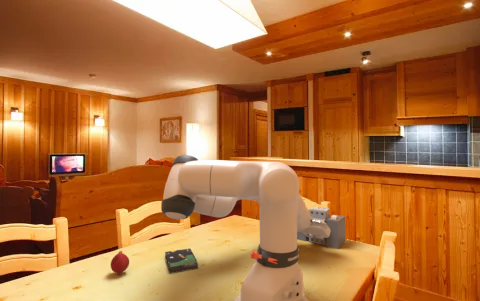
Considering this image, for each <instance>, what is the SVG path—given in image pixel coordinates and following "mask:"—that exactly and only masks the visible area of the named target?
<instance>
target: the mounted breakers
mask: <svg viewBox="0 0 480 301" xmlns="http://www.w3.org/2000/svg"><path fill="white" fill-rule="evenodd" d="M326 224H327V225H328V227H329V228H330V230H331V231H330V235H329V237H328V238H326V245H325V246H326V247H327V248H328V247H329V248H332V249H336V250H338V249H340V247H342V246H343V245H345V243H346V216H344V215H339V214H332V215H330V217H329V218H328V219H326ZM297 241H303V242H306V241H309V237H307V236H306V235H305V234H303V233H302V232H297Z"/></svg>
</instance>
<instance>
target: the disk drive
mask: <svg viewBox="0 0 480 301" xmlns="http://www.w3.org/2000/svg"><path fill="white" fill-rule="evenodd" d="M164 257H165V261H166V266H167V270H168V273H169V274H173V273H179V272H186V271H191V269H192V270H197V269H198V268H199V265H198V261H197V258H196V257H195V255H194V253H193V251H192V249H191V248H184V249H177V250H175V251H171V250H169V251H165V252H164Z"/></svg>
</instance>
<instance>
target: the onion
mask: <svg viewBox="0 0 480 301" xmlns="http://www.w3.org/2000/svg"><path fill="white" fill-rule="evenodd" d="M129 266H130V258H129V257H128V256H127V255H126V254H125V253H123V250H119V251H118V252H117V254H115V255H114V256H113V257H112V259H111V261H110V269H111V271H112V272H113V273H115V274H117V275H122V274H123V272H125V271H126V270H127V269H128V268H129Z"/></svg>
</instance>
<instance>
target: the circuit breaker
mask: <svg viewBox="0 0 480 301" xmlns="http://www.w3.org/2000/svg"><path fill="white" fill-rule="evenodd" d="M308 210H309V212H310V214H311V216H312V219H315V220H320V221H323V222H325V223H326V219H328V218H329V217H331V212H330V207H322V206H321V207H320V206H312V207H310V208H308ZM308 242H309V243H314V244H319V245H324V246H326V238H325V237H320V236H316V235H314V237H313V238H311V237H309V239H308Z"/></svg>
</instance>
